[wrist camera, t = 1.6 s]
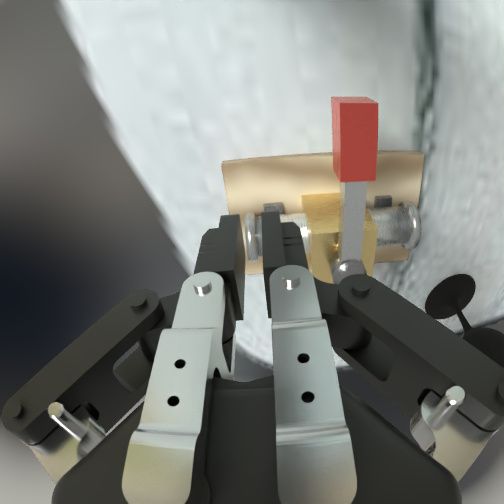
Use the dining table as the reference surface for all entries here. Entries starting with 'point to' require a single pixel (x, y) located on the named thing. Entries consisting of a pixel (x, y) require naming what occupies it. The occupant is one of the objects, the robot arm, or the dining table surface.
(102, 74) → the dining table surface
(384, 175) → the mounting board
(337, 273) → the lever
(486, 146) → the dining table surface
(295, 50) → the dining table surface
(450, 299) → the wine glass
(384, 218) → the valve
